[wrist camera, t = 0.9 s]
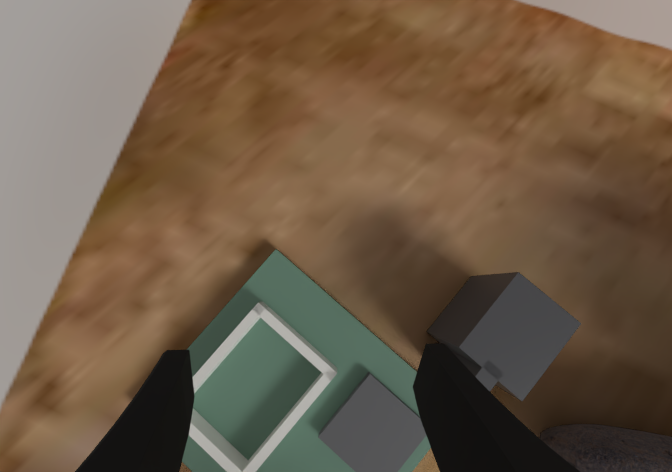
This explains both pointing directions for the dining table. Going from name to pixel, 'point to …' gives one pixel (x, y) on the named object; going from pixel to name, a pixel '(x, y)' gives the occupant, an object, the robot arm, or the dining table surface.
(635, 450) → the perforated stone tool
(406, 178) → the dining table surface
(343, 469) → the board
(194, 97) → the dining table surface
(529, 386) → the plug
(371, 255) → the dining table surface
